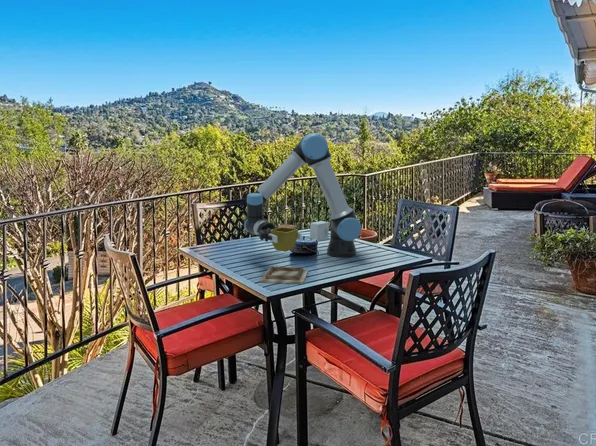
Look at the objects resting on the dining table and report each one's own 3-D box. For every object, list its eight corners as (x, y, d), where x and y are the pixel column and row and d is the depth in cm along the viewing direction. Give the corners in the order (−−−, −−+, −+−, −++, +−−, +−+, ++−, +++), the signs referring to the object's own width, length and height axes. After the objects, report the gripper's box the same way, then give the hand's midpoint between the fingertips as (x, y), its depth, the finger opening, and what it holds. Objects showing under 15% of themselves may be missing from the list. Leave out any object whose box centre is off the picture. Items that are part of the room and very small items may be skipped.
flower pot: (298, 249, 192) (298, 228, 190) (287, 253, 185) (287, 232, 183) (281, 247, 197) (281, 226, 195) (269, 251, 189) (269, 230, 188)
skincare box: (317, 241, 264) (317, 224, 262) (309, 240, 268) (309, 222, 266) (329, 238, 271) (329, 221, 269) (321, 237, 275) (321, 220, 274)
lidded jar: (293, 240, 266) (293, 225, 265) (276, 240, 268) (275, 224, 267) (297, 237, 276) (297, 222, 275) (280, 236, 279) (280, 221, 277)
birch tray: (308, 272, 200) (308, 266, 200) (302, 284, 182) (302, 278, 182) (268, 270, 203) (268, 265, 202) (259, 282, 185) (259, 276, 185)
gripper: (286, 235, 211) (312, 243, 193) (241, 240, 199) (264, 250, 181) (286, 219, 210) (312, 226, 192) (241, 224, 198) (263, 232, 180)
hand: (289, 237), depth 186 cm, fingers closed on flower pot, 11 cm apart
